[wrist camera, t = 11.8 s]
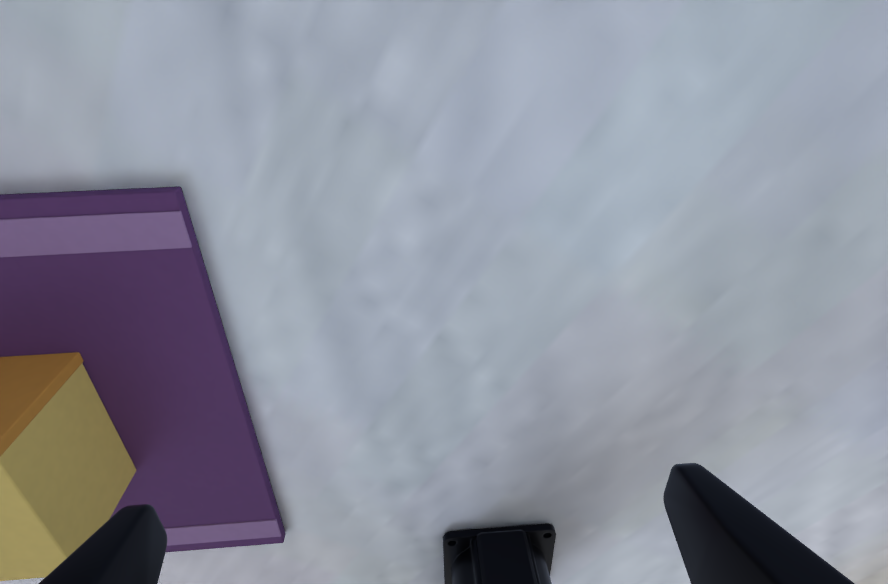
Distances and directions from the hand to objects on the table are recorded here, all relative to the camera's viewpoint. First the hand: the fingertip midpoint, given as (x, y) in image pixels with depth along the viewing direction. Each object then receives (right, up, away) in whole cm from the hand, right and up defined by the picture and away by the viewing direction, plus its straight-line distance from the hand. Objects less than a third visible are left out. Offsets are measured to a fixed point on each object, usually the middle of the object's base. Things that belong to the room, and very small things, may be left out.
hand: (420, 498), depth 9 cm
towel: (-17, -2, +14) cm, 22 cm away
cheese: (-17, -2, +13) cm, 21 cm away
